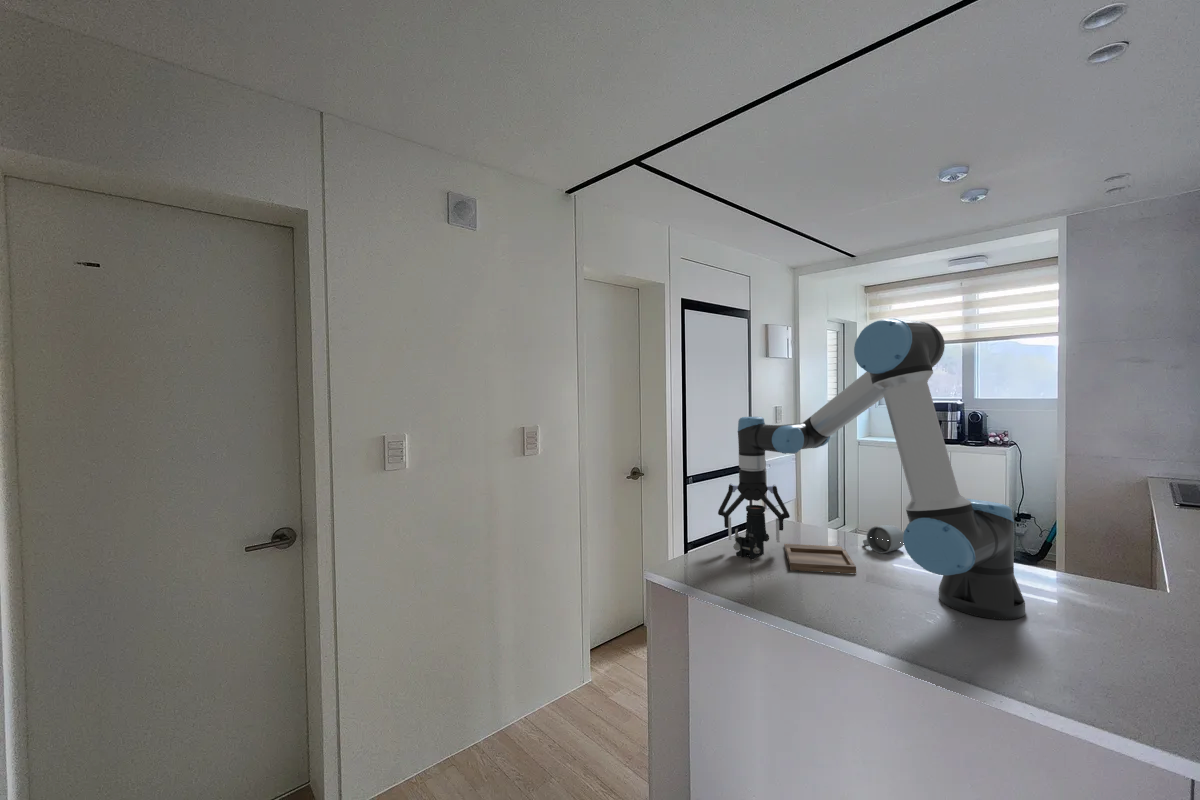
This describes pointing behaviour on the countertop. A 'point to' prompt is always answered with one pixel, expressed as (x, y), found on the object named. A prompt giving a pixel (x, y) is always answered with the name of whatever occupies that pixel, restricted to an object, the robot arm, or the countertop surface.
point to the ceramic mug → (884, 538)
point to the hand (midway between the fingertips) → (753, 539)
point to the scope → (752, 533)
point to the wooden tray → (819, 558)
